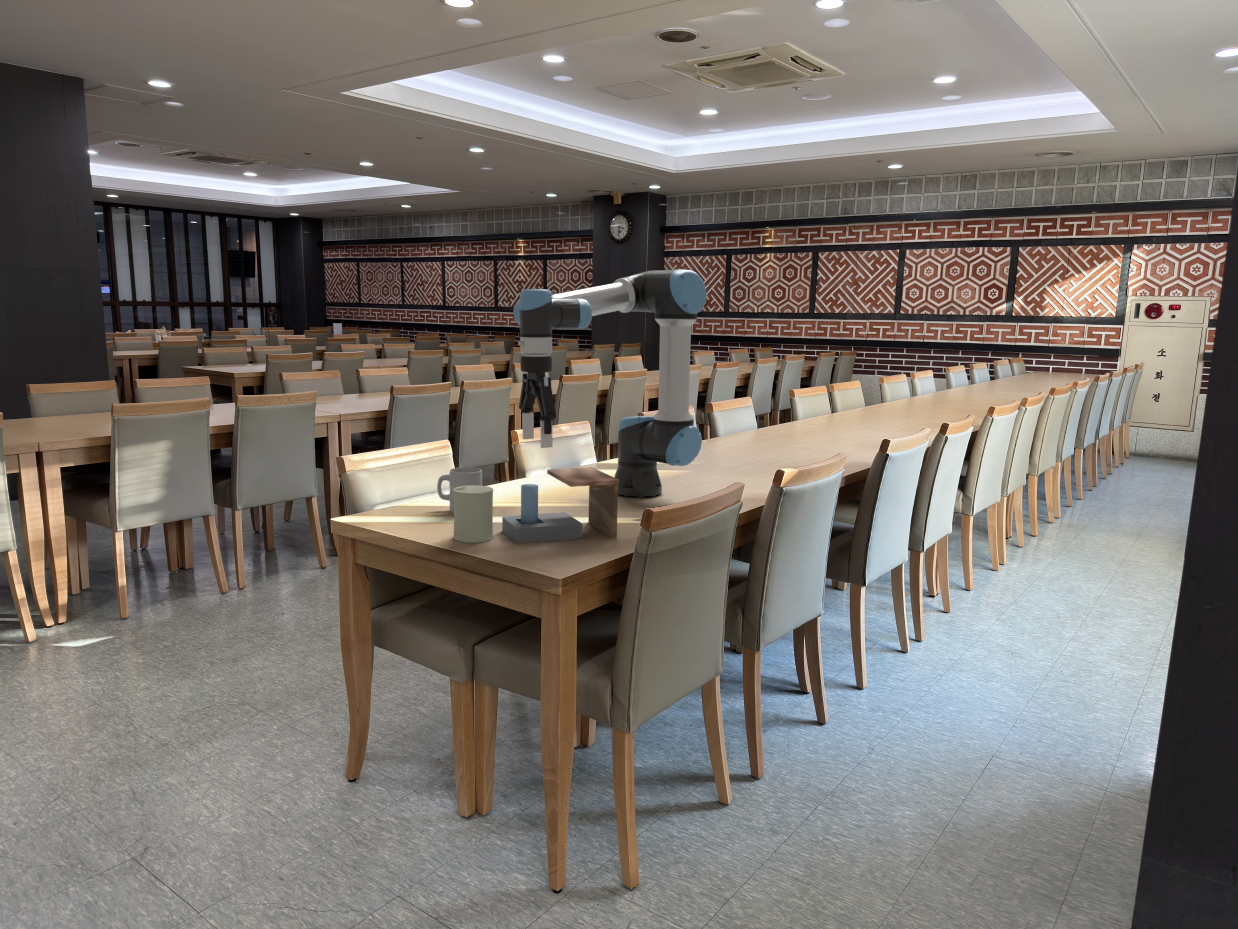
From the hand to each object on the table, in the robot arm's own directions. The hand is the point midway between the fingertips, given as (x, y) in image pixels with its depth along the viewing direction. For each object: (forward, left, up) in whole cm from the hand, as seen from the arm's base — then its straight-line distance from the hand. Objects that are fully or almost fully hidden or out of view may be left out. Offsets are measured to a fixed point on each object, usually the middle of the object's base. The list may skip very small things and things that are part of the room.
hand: (537, 443), depth 201 cm
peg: (+4, +8, -21) cm, 23 cm away
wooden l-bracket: (-9, +8, -21) cm, 24 cm away
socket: (+1, +8, -21) cm, 22 cm away
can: (+17, +6, -21) cm, 28 cm away
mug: (+14, -22, -21) cm, 33 cm away
